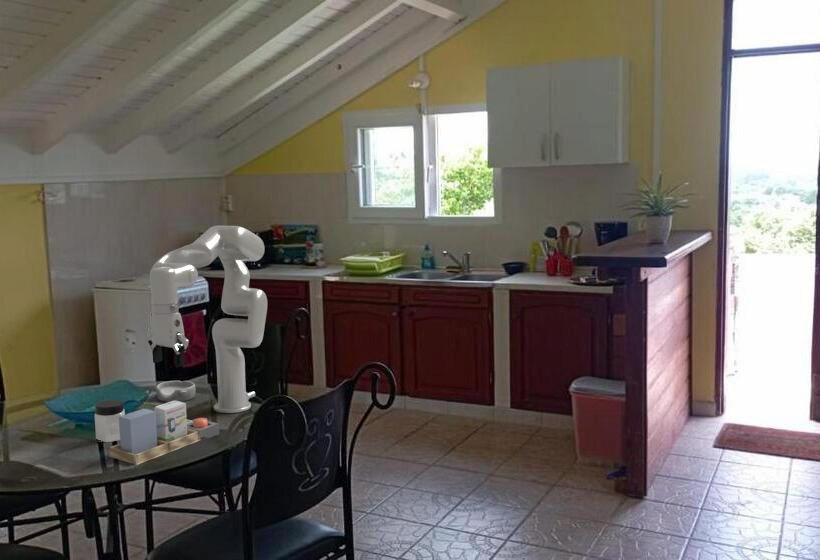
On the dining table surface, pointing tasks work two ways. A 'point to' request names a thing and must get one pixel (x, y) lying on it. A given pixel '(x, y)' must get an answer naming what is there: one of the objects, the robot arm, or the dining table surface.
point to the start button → (200, 423)
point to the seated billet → (138, 431)
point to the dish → (175, 391)
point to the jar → (108, 420)
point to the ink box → (171, 421)
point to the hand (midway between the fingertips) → (168, 364)
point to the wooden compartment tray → (154, 449)
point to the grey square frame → (206, 429)
